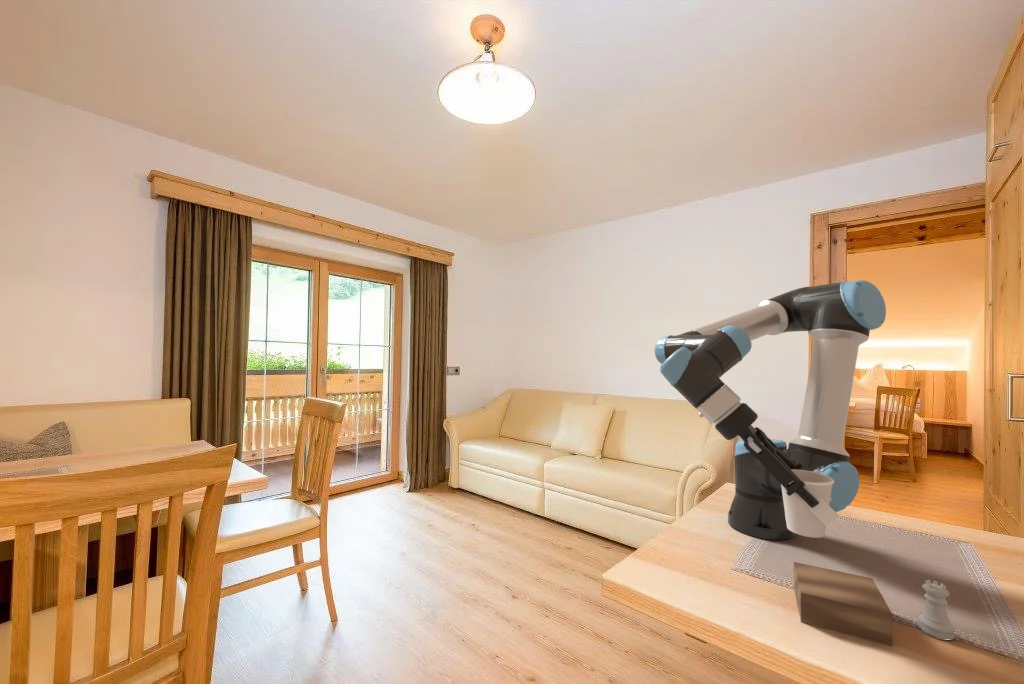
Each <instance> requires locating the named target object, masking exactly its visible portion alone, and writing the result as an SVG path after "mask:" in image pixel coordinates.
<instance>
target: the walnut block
mask: <svg viewBox="0 0 1024 684" xmlns="http://www.w3.org/2000/svg"><path fill="white" fill-rule="evenodd" d="M793 590H794V594H795V600H796V604H797V605H796V606H797V609H798V614H799V618H800V622H801V623H805V624H808V625H812V626H816V627H819V628H822V629H826V630H830V631H835V632H838V633H841V634H846V635H848V636H853V637H857V638H861V639H864V640H869V641H871V642H875V643H880V644H882V645H887V646H891V647H893V645H894V644H893V642H894V641H893V639H894V638H893V636H894V634H893V626H894V625H893V623H894V622H893V621H894V620H893V613H892V611H891V609H890V607H889V606H888V604H887V601H886V600H885V598H884V596H883V594H882V593H881V591H880V589H879V588H878V585H876V583H875V581H874V578H872V577H867V576H863V575H858V574H852V573H849V572H843V571H839V570H833V569H830V568H829V569H828V568H825V567H821V566H820V567H819V566H815V565H810V564H806V563H800V562H796V561H793Z"/></svg>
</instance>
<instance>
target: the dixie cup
mask: <svg viewBox="0 0 1024 684" xmlns="http://www.w3.org/2000/svg"><path fill="white" fill-rule="evenodd" d="M791 470H792V471H793V472H794V473H795V474H796V476H797V477H798V478H799V479H800V480H801V481H803V482H804V484H805V483H806V484H807V485H808V486H809V487H810V488H811V489H812V490H813V491H814V492H815V493H816V494H818V495H819V496H820V497H821V498H822V499H823V500H824V501H825V502H826V503H827V504H828V505H829V503H830V496H831V490H832V484H833V483H834V480H833V479H832V478H831V477H829V476H826V475H823V474H820V473H816V472H811V471H805V470H796V469H791ZM792 482H794V481H792ZM792 482H790V483H789V484H791V483H792ZM781 488H782V495H783V502H784V509H785V518H786V524H787V528H788V529H789V530H790V531H792V532H794V533H795V535H796V534H797V535H799V536H803V537H805V538H807V537H808V538H812V539H813V538H814V539H815V538H819V539H820V538H823V537H825V535H826V527H827V525H826V526H825V525H824V524H823V523H822V522H821V521H820V520H819V519H818V518H817V517H816V516H815V515H814V514H813V513H812V512H811V511H810V510H809V509H808V508H807V507H806V506H805V505H804V504H803V503H802V502H801V501H800V500H799V499H798V498H797V497H796V496H795V495H794V494H792V495H790V496H789V495H788V494H787V493H786V492H787V490H786V489H785V488H784V487H783V486H782V484H781Z"/></svg>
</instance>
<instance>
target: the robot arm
mask: <svg viewBox="0 0 1024 684" xmlns="http://www.w3.org/2000/svg"><path fill="white" fill-rule="evenodd" d="M886 316H887V308H886V302H885V299H884V297H883V295H882V292H881V291H880V289H879V288H878V287H877V286H876V285H875V284H873V283H872V282H870V281H868V280H863V279H861V280H860V279H859V280H843V281H841V282H839V281H838V282H835V283H834V282H832V283H826V284H819V285H814V286H813V285H811V286H803V287H799V288H796V289H793V290H790V291H787V292H784V293H782V294H779V295H776V296H774V297H771V298H769V299H766V300H763V301H761V302H759V303H758V304H757V305H756V306H755V308H751V309H749V310H746V311H744V312H741V313H736V314H735V315H732V316H729V317H726V318H723V319H721V320H718V321H714V322H712V323H708V324H707V325H704V326H700V327H698V328H695V329H691V330H690V331H686V332H683V333H680V334H677V335H666V336H663V337H660V338H659V339H658V341H656V343H655V346H654V355H655V358H656V360H657V361H658V363H660V364H661V365H660V367H659V371H660V373H661V375H662V376H663V377H664V378H665V379H666V381H667V382H668V383H669V384H670V385H671V386H672V387H673V388H674V389H675V390H677V392H678V393H679V394H681V396H683V397H684V398H685V399H686V400H687V401H688V403H689V404H691V406H693V407H694V409H696V410H697V411H698V412H699V413H698V416H699V417H700V418H705V419H706V420H707V421H708V423H709V424H715V425H714V429H716V431H717V432H718V433H719V434H720V435H721V436H722V437H724V439H725V440H727V441H731V440H733V439H735V438H736V437H738V436H739V437H740V440H738V441H737V442H736V444H735V450H734V451H735V453H734V471H735V472H734V476H735V477H734V481H735V484H734V486H735V488H734V489H735V491H734V492H735V493H734V497H733V500H732V502H731V505H730V507H729V510H728V511H727V512H728V513H727V523H728V524H729V526H730V527H731V528H732V529H734V530H736V531H738V532H740V533H741V534H744V535H748V536H751V537H755V538H760V539H762V540H763V539H765V540H773V541H777V540H778V541H784V540H785V541H786V540H790V539H792V538H794V537H795V535H796V533H794V532H792V531H790V530H789V529H788V528H787V524H786V518H785V509H784V502H783V495H782V488H781V484H782V486H783V487H784V488H785V489H786V490H787V492H786V493H787V494H788V495H789V496H790V495H792V494H794V495H795V496H796V497H797V498H798V499H799V500H800V501H801V502H802V503H803V504H804V505H805V506H806V507H807V508H808V509H809V510H810V511H811V512H812V513H813V514H814V515H815V516H816V517H817V518H818V519H819V520H820V521H821V522H822V523H823V524H824V525H825V526H826V527H827V525H828V524H830V523H832V522H834V521H836V520H837V519H838V518H840V515H839V514H838V513H837V512H840V511H843V510H845V509H846V508H847V507H848V506H850V505H851V503H853V501H854V500H855V499H856V497H857V494H858V492H859V488H860V480H861V479H860V476H859V472H858V469H857V468H856V467H855V466H854V465H853V464H851V463H850V462H849V461H850V454H849V453H848V452H847V450H846V449H845V448H844V440H845V434H846V433H845V432H846V428H847V421H848V415H849V408H850V402H851V398H852V397H851V395H852V390H853V383H854V380H855V379H854V378H855V371H856V365H857V358H858V352H859V347H860V346H861V345H862V344H864V343H865V342H867V341H868V340H869V337H870V333H871V332H870V331H872V330H873V331H874V330H876V329H878V328H880V327H882V325H883V324H884V322H885V321H886ZM792 332H808V336H810V338H811V339H812V340H813V347H812V354H811V359H810V366H809V371H808V375H807V376H808V377H807V383H806V388H805V393H804V398H803V405H802V409H801V410H802V412H801V416H800V423H799V429H798V432H797V433H798V434H797V436H796V437H795V438H793V439H791V440H789V441H788V445H787V442H786V441H784V440H782V439H775V438H774V439H772V438H769V437H768V436H767V435H766V433H765V432H764V431H763V430H762V429H761V428H759V427H758V426H755V427H754V426H753V424H755V422H756V420H757V419H758V417H759V414H757V412H756V411H754V409H752V408H751V407H750V405H748V404H747V403H746V402H741V400H742V399H741V397H740V396H739V395H738V394H737V393H735V391H734V390H732V388H730V387H729V386H728V385H727V384H726V383H725V382H724V381H723V380H722V379H721V377H723V375H725V374H726V373H727V372H728V371H730V370H731V369H732V368H734V367H735V366H736V365H737V364H739V363H741V362H742V360H743V359H744V358H745V357H746V356H747V355H748V354H749V353H750V352H751V349H752V341H754V340H756V339H760V338H761V337H764V336H767V335H769V336H777V335H781V334H784V333H792ZM791 469H796V470H805V471H811V472H816V473H820V474H823V475H826V476H829V477H831V478H832V479H833V480H834V483H833V484H832V490H831V496H830V503H829V505H828V504H827V503H826V502H825V501H824V500H823V499H822V498H821V497H820V496H819V495H818V494H816V493H815V492H814V491H813V490H812V489H811V488H810V487H809V486H808V485H807V484H806V483H805V484H804V482H803V481H801V480H800V479H799V478H798V477H797V476H796V474H795V473H794V472H793V471H792V470H791ZM792 481H794V482H792ZM790 482H792V483H791V484H789V483H790Z"/></svg>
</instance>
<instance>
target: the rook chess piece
mask: <svg viewBox="0 0 1024 684" xmlns="http://www.w3.org/2000/svg"><path fill="white" fill-rule="evenodd" d="M938 583H939V582H938V581H937V580H933V583H932V580H931V579H930V580H929V579H926V580H924V583H923V584H922V585H921V587H922V589H923V590H924V591H925V594H923V596H924V598H925V604H924V609H923V611H922V612H921V614H919V615H918V619H917V620H918V622H917V626H918V627H919V629H920V628H921V629H920V630H921V631H922V632H923V631H924V633H925V634H926V633H927V634H926V635H928V634H929V635H928V636H930V635H931V636H930V637H932V636H934V637H937V638H940V639H939V640H941V639H952V640H954V639H955V638H956V634H955V626H953V624H952V622H951V620H950V619H949V616H948V612H947V611H948V610H947V605H948V604H949V602H948V601H947V600H946V599H947V597H949V596H950V592H949V590H948V589H947V586H946V585H945V584H944V583H940V584H938ZM934 637H933V638H934ZM937 638H936V639H937Z"/></svg>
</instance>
